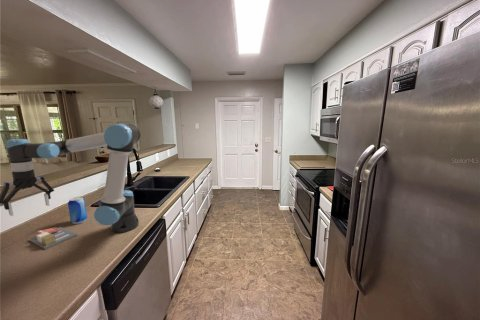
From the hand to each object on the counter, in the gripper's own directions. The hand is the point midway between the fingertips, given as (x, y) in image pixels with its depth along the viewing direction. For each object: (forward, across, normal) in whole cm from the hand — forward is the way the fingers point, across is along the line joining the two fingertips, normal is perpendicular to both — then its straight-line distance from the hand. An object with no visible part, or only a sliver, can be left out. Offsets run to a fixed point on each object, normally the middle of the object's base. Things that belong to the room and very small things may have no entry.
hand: (30, 209), depth 103 cm
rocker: (+16, -6, -3) cm, 18 cm away
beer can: (+19, -23, -8) cm, 31 cm away
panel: (+19, -6, +2) cm, 20 cm away
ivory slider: (+18, -2, +2) cm, 18 cm away
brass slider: (+18, -3, +7) cm, 20 cm away
